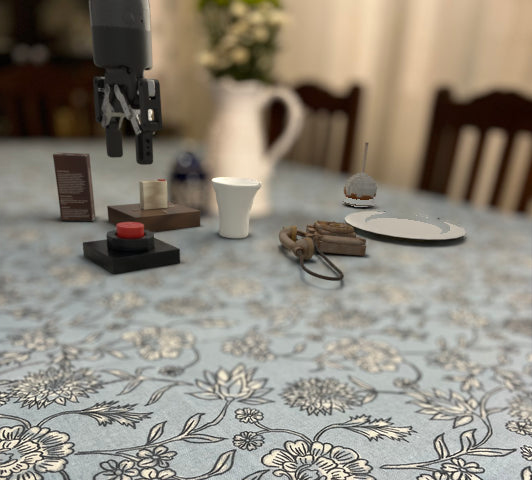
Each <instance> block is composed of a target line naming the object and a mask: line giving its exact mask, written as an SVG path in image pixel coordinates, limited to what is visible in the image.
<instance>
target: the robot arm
mask: <svg viewBox="0 0 532 480" xmlns="http://www.w3.org/2000/svg"><path fill="white" fill-rule="evenodd" d="M88 9H89V22H90V32H91V43H92V44H91V45H92V56H93V64H94V65H95V66H96V67H97V68H103V69H104V76H94V77H93V78H92V79H93V80H92V82H93V98H94V100H93V101H94V115H95V122H96V123H97V124H101V127H102V129H104V132H105V145H106V155H107V157H108V158H113V159H114V158H122V157H123V156H124V149H123V148H124V147H123V132H122V129H121V128H122V124H123V121H124V118H126V120H128V121H129V122H130V123H131V125H132V128H133V131H134V133H135V134H134V143H135V160H136V161H135V162H136V163H137V164H138V165H141V166H143V165H145V166H146V165H147V166H149V165H153V163H154V147H153V144H154V143H153V135H155V134H156V132H157V131H162V130H163V116H162V115H163V114H162V102H161V101H162V97H161V83H160V80H159V79H157V78H156V79H155V78H146V75H145V71H151V70H152V69H153V67H154V65H153V64H154V63H153V42H152V41H153V39H152V17H151V16H152V14H151V12H152V11H151V3H150V0H88ZM152 115H153V118H152Z"/></svg>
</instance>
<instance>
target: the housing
mask: <svg viewBox="0 0 532 480" xmlns="http://www.w3.org/2000/svg"><path fill="white" fill-rule="evenodd" d="M105 237H106V239H100V240H99V239H98V240H91V241H85V242H84V241H83V242H82V250H83V257H84V258H86V259H87V260H89V261H90V262H92V263H94V264H96V265H98V266H99V267H101V268H103V269H105V271H108V272H110V273H111V274H113V275H116V274H123V273H129V272H134V271H139V270H140V271H141V270H147V269H150V268H151V269H152V268H158V267H163V266H168V265H176V264H180V263H181V248H179V247H177V246H174V245H173V244H170V243H167V242H165V241H163V240H161V239H158V238H156V237H155V232H151V231H149V230H144V236H143V237H136V238H124V237H118V236H117V230H116V228H115V229H112V230H110V231H109V230H108V231H107V232H106V235H105Z"/></svg>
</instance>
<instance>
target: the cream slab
mask: <svg viewBox="0 0 532 480" xmlns="http://www.w3.org/2000/svg"><path fill="white" fill-rule="evenodd" d="M138 184H139V185H138V186H139V203H140V207H141V209H143V210H148V209H160V208H167V201H168V183H167V180H166V179H165V178H157V179H155V180H139V181H138Z"/></svg>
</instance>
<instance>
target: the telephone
mask: <svg viewBox="0 0 532 480" xmlns="http://www.w3.org/2000/svg"><path fill="white" fill-rule="evenodd" d="M298 237H301V238H300V239H297V238H298ZM278 240H279V242H280V244H281V245H282V246H283V247H285V248H286V249H287V250H288V251H291V253H292V255H294V256H295V257H296V258H298V259H299V264H300V267H301V269H302V270H303V271H304V272H305V273H306V274H308V275H310V276H312V277H315V278H317V279H321V280H324V281H331V282H339V281H341V280H343V279H344V278H345V277H344V276H345V275H344V272H343V271H342V270H341V269H340V268H339V267H337V265H335V264H334V263H333V262H332V260H330V259H329V258H328V257H327V256H326V255H325V254H326V253H327V254H338V255H349V256H362V257H365V255H366V250H367V245H366V243H367V239H366V238H362V237H361V236H357V233H356V232H355V228H354V227H352V226H351V225H349V224H347V223H345V222H337V221H325V220H315V221H314V223H313V224H307V225H306V227H305V231H304V230H301V229H298V226H297V225H290V226H289V225H288V226H286V227H285V226H282V228H281V229H280V231H279V232H278ZM316 253H318V254H319V255H320V256H321V258H322V259H324V261H326V263H327V264H328V265H329V266H330V267H331V268H332V269H334V270H335V272H336V273H338V274H339V276H328V275H323V274H320V273H317V272H315V271H312V270H311V269H308V268H307V267H306V266H305V264H304V261H310V260H311V259H312V258H313V256H314V255H315V254H316ZM324 253H325V254H324Z"/></svg>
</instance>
